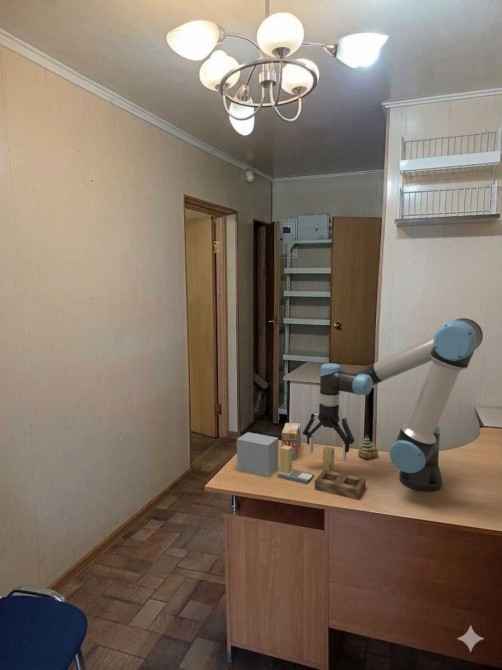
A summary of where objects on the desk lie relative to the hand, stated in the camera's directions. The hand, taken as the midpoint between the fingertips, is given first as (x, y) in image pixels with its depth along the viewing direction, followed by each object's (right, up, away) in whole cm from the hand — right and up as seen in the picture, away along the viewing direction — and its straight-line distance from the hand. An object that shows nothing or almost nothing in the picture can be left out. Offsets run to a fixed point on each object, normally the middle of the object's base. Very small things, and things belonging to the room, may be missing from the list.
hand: (327, 456), depth 170 cm
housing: (-27, -7, +5) cm, 28 cm away
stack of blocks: (-12, -4, +24) cm, 27 cm away
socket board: (+3, -9, -12) cm, 15 cm away
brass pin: (0, -7, +1) cm, 7 cm away
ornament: (+20, -5, +16) cm, 26 cm away
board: (-13, -7, -2) cm, 15 cm away
